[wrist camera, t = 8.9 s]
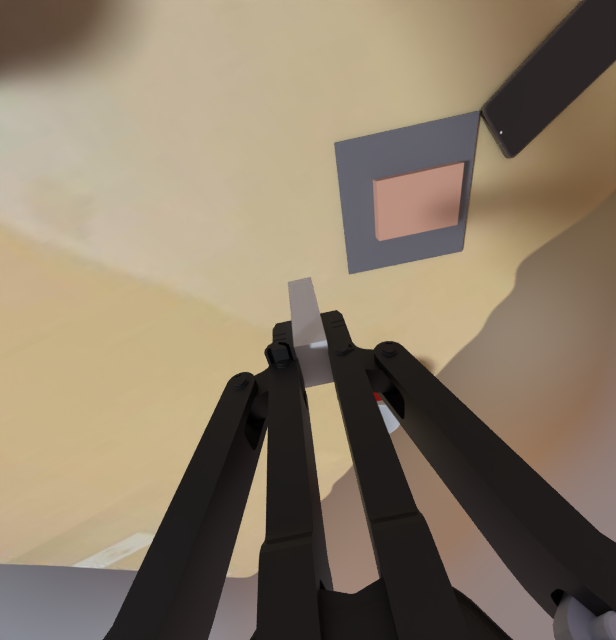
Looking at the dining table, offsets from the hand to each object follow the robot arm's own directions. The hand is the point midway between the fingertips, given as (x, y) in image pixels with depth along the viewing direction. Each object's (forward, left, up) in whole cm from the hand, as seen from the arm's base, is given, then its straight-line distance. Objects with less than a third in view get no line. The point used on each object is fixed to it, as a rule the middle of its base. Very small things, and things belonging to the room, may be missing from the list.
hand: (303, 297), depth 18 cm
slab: (+1, +10, -19) cm, 22 cm away
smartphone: (-10, +31, -21) cm, 38 cm away
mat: (+1, +14, -20) cm, 25 cm away
